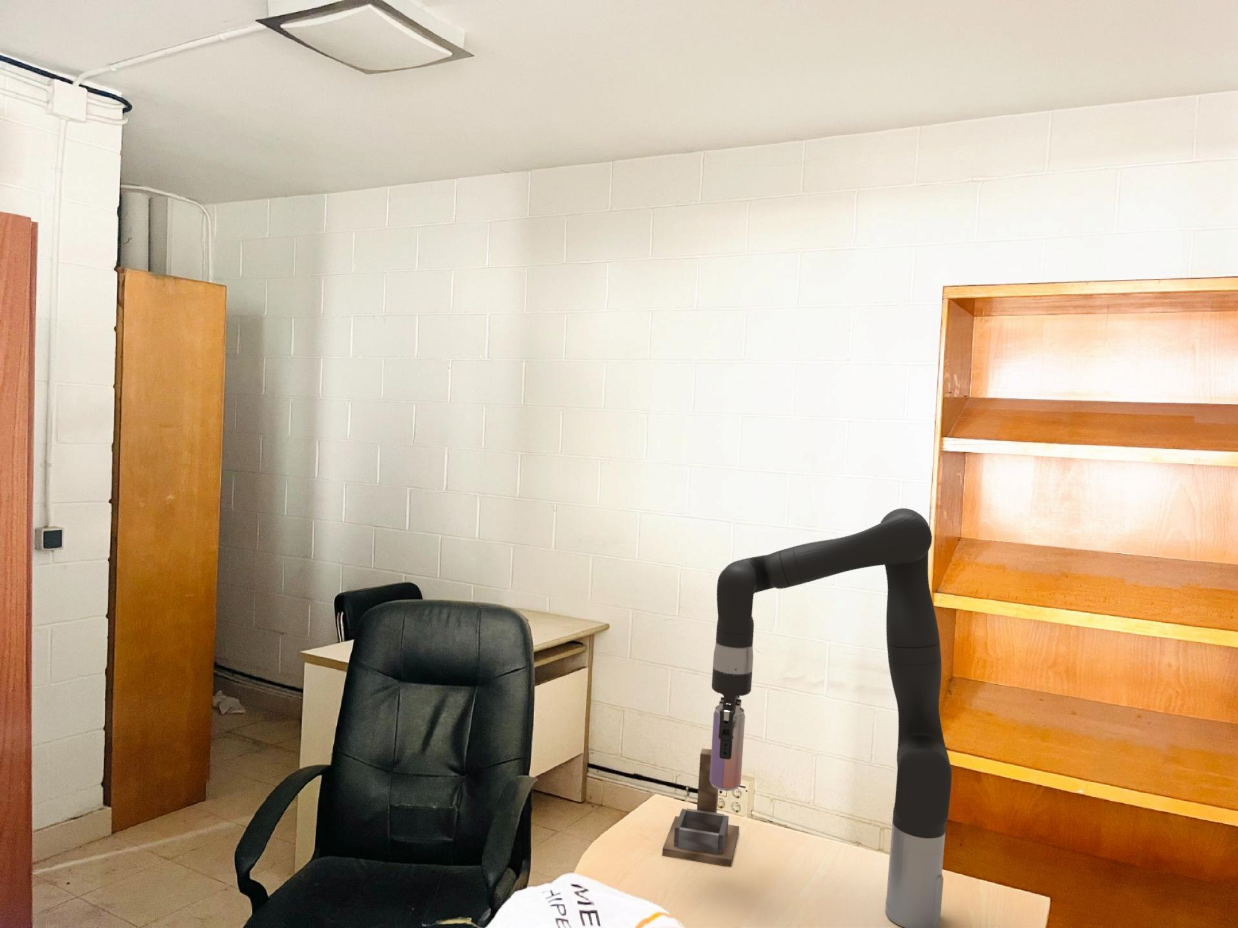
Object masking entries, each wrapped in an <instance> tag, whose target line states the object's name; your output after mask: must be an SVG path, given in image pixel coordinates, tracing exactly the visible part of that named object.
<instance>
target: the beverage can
mask: <svg viewBox="0 0 1238 928" xmlns="http://www.w3.org/2000/svg"><path fill="white" fill-rule="evenodd" d="M719 712H720V710H719V704H718V705H716V706H715V708H714V712H713V721H712V735H711V736H712V737H711V765H710V783H711V785H712V786H713V787H714V788H716V789H718V791H727V792H731V791H736V790H737V789H738V788H739V787H740V786H741V784H742V768H743V756H744V755H743V753H744V739H745V735H744V734H745V724H746V723H745V721H746V715H745V709H744V708H743V707H741V708H740V712H739V713H738V717H737V727H736V728H734V733H733V736H734V739H733V741H732V755H731V759H729V760H728V759H721V758H720V757H719V754H720V739H719V737H718V734H719ZM734 719H735V714H734V718H733V722H734ZM723 733H729V734H730V730H729V729H724V728H723Z"/></svg>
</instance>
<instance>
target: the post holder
mask: <svg viewBox="0 0 1238 928" xmlns="http://www.w3.org/2000/svg"><path fill="white" fill-rule="evenodd" d="M711 749H712V748H711ZM711 749H709V748H701V751H700V755H699V770H698V787H697V803H696V805H697V806H696V809H694V808H688V807H687V808H682V809H681V811H680V812H679V813H680V814H679V815H678V816H677V815H675V816H674V818H673V822H672V823H671V826H670V828H669V831H668V834H667V835H666V838H665V842H664V844H663V845H662V851H661V853H662V856H665V857H670V858H675V859H682V860H687V861H693V862H699V863H700V862H701V863H705V864H710V865H712V864H713V865H718V866H723V867H729V868H731V867H732V864H733V860H734V857H735V851H736V848H737V842H738V838H739V835H740V834H739V833H740V825H739V826H738V825H734V824H729V818H730V816H729V815H725V813H718V800H719V799H718V798H719V789H716V788H714V787H713V786H712V785H711V783H710V765H711Z"/></svg>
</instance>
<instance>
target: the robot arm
mask: <svg viewBox="0 0 1238 928" xmlns="http://www.w3.org/2000/svg"><path fill="white" fill-rule="evenodd" d="M932 542H933V534H932V530H931V527H930V525H929V523H928V521H927V520H926V518H925V517H924V516H923V515H922V514H920V513H919V512H917V511H915V510H913V509H910V508H904V507H903V508H902V507H901V508H896V509H894V510H892V511H890V512H888V513H887V514H886V515H885V516H884V517H883V518H882V520H880V523H878V524H876V525H874V526H871V527H869V528H867V529H865V530H863V531H859V532H857V533H853V534H850V535H846V536H841V537H837V538H830V539H825V540H819V541H818V540H817V541H813V542H807V543H803V544H799V545H795V546H791V547H788V548H784V549H781V550H778V551H774V552H772V553H769V554H764V555H757V556H752V557H747V558H743V559H742V558H741V559H739V560H735V561H733V562H731V563H730V564H728V565H727V566H725V568H723V570H722V571H721V572H720V574H719V576H718V578H717V582H716V583H717V585H716V605H717V606H716V609H717V610H716V611H717V621H716V636H715V646H714V650H713V656H712V657H713V660H712V674H711V675H712V676H711V690H713V691H714V692H715V693H717V694H721V695H722V696H721V697H720V701H719V702H718V705H719V710H720V712H719V734H718V737H719V739H720V754H719V757H720V758H721V759H728V760H729V759H731V755H732V741H733V739H734V736H733V733H734V728H736V727H737V717H738V713H739V712H740V708H742V699H740V698H741V697H744V696H747V695H749V694H750V693H751V692H752V684H753V683H752V682H753V665H754V648H753V647H754V646H753V645H754V631H755V629H754V628H755V624H754V617H753V605H754V595H755V594H757V593H759V592H764V591H768V590H772V589H777V590H778V589H779V590H781V589H787V588H791V587H795V586H799V585H804V584H806V583H810V582H811V583H812V582H814V581H817V580H821V579H824V578H828V577H831V576H835V575H838V574H842V573H846V572H850V571H854V570H860V569H865V568H870V567H876V566H877V567H879V566H884V569H885V573H886V583H887V596H886V597H887V598H886V616H885V618H886V620H885V621H886V627H885V628H886V629H885V630H886V631H885V632H886V633H885V634H886V648H887V659H888V668H889V673H890V680H891V684H892V688H893V692H894V695H895V696H894V697H895V701H896V704H897V717H898V721H897V723H898V724H897V725H898V732H897V736H898V737H897V749H896V750H897V751H896V765H897V771H896V783H895V784H896V785H895V798H894V804H893V805H894V806H893V811H892V822H891V835H890V836H891V837H890V845H889V846H890V848H889V860H888V861H889V862H888V871H887V886H886V887H887V888H886V896H885V897H886V898H885V911H884V912H885V914H886V917H887V918H888V919H890V921H892V922H893V923H894V924H896V925H898V926H900V927H903V928H940V927H941V926H940V925H941V914H942V901H943V900H942V899H943V892H944V891H943V890H944V889H943V888H944V876H943V864H944V853H945V851H944V850H945V838H946V827H947V822H948V820H949V812H950V801H951V794H952V782H953V781H952V780H953V777H952V776H953V773H952V771H953V770H952V766H951V762H950V757H949V754H948V750H947V746H946V743H945V738H944V734H943V728H942V721H941V716H940V697H941V696H940V695H941V688H942V687H941V686H942V651H941V642H940V641H941V640H940V633H939V625H938V621H937V615H936V611H935V606H934V601H933V597H932V595H931V594H932V593H931V588H930V581H929V550H930V548H931V546H932ZM734 714H735V719H734V722H733V718H734ZM723 728H724V729H729V730H730V734H729V733H723Z"/></svg>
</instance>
